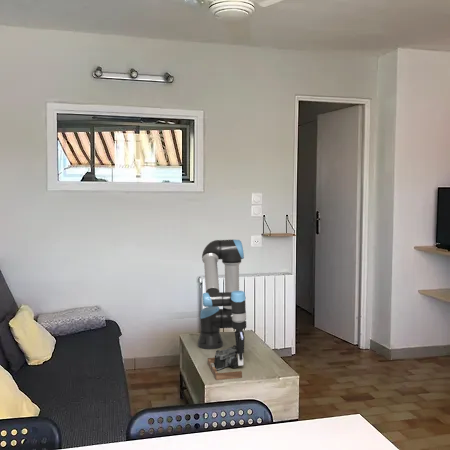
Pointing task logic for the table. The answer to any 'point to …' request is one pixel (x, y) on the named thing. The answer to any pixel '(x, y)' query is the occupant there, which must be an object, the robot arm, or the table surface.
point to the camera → (226, 358)
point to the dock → (223, 375)
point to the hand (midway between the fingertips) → (240, 364)
